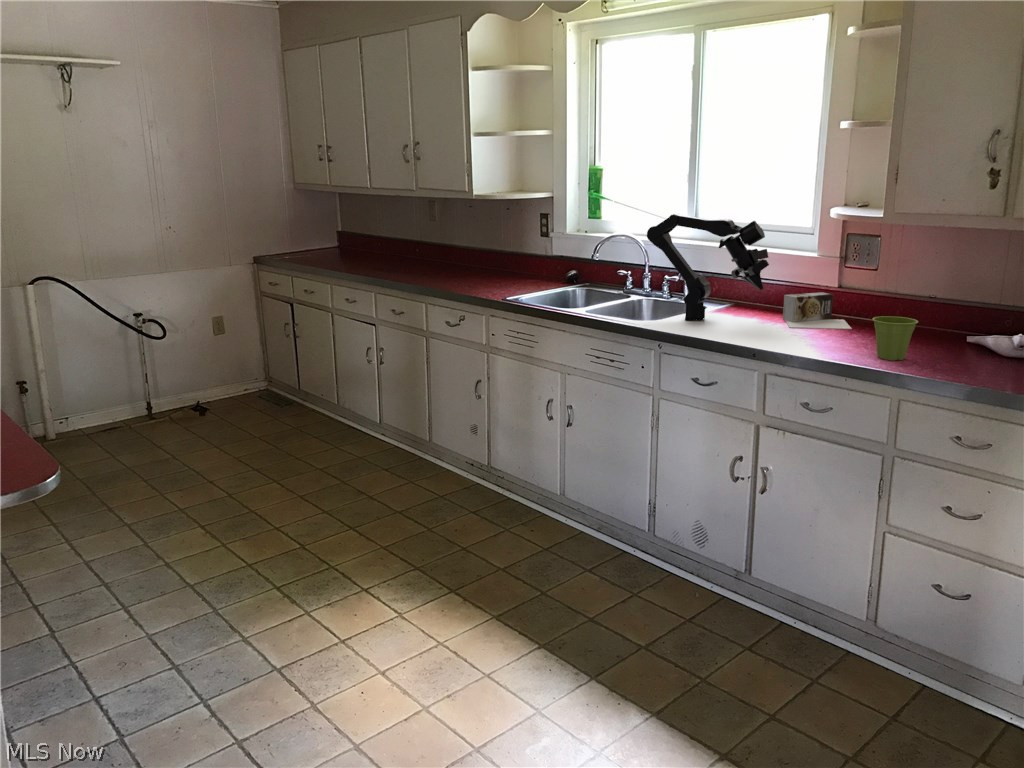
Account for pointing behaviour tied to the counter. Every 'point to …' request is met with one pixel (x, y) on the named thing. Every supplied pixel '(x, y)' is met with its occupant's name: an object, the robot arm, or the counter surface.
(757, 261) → the robot arm
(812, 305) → the cookie box
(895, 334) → the plant pot
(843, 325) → the mat
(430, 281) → the counter surface
